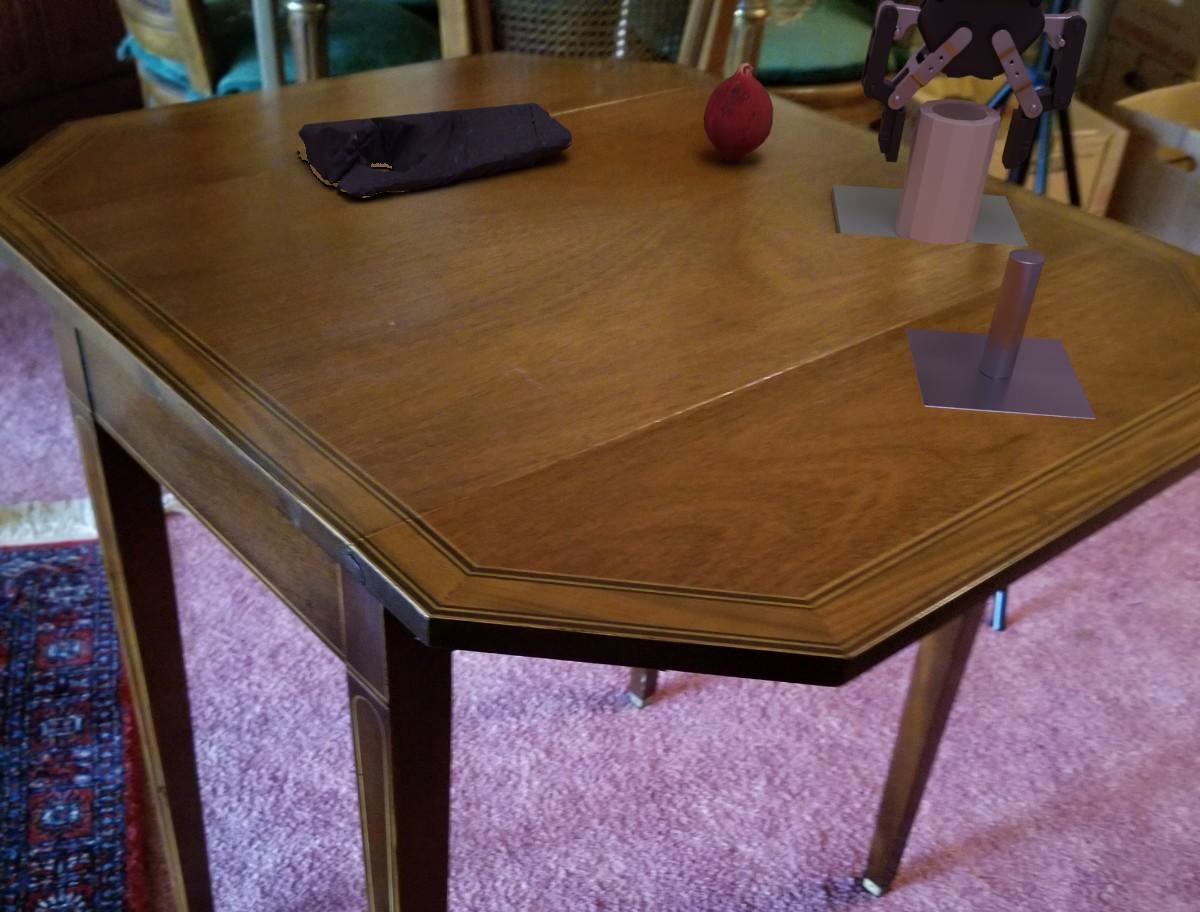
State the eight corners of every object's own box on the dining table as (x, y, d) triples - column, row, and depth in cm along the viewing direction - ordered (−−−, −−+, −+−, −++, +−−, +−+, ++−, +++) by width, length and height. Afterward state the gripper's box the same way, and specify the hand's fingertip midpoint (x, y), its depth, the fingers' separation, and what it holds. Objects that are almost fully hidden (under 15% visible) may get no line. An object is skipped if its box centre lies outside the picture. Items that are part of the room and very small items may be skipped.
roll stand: (1056, 355, 78) (1095, 227, 73) (1091, 436, 71) (1138, 300, 65) (901, 344, 79) (929, 216, 73) (919, 423, 71) (951, 287, 66)
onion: (750, 179, 101) (762, 79, 96) (688, 164, 103) (697, 66, 98) (777, 158, 105) (790, 61, 100) (717, 145, 107) (726, 49, 102)
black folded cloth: (594, 173, 101) (596, 114, 98) (336, 208, 93) (330, 146, 90) (522, 116, 111) (522, 61, 108) (285, 143, 103) (278, 86, 100)
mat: (1003, 205, 98) (1005, 195, 98) (1047, 302, 85) (1050, 292, 84) (831, 193, 99) (832, 184, 99) (846, 288, 85) (848, 277, 85)
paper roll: (964, 221, 93) (993, 101, 88) (975, 251, 89) (1006, 126, 83) (891, 216, 94) (915, 96, 88) (899, 245, 89) (924, 121, 84)
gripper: (1102, -95, 80) (1037, 151, 90) (886, -107, 81) (846, 139, 91) (1131, -72, 74) (1058, 188, 85) (898, -86, 75) (854, 174, 85)
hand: (948, 162), depth 88 cm, fingers open, 8 cm apart
